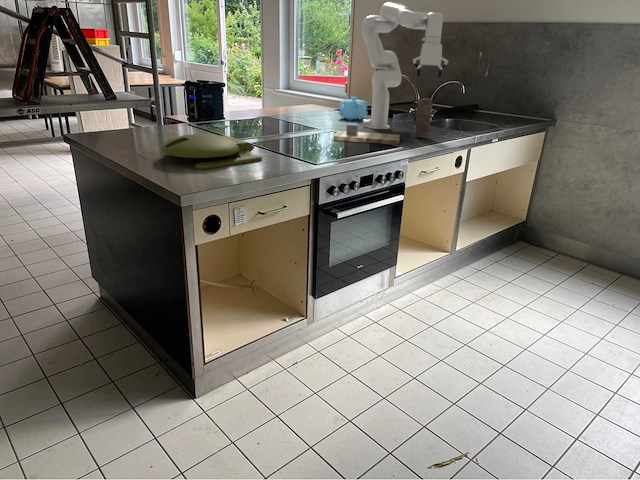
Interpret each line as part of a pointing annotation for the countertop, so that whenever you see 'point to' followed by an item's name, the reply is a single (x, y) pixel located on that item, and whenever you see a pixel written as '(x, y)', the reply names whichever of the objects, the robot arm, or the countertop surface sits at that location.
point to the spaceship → (210, 150)
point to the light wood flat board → (368, 137)
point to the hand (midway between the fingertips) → (428, 77)
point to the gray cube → (352, 129)
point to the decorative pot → (353, 109)
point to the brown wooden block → (423, 118)
